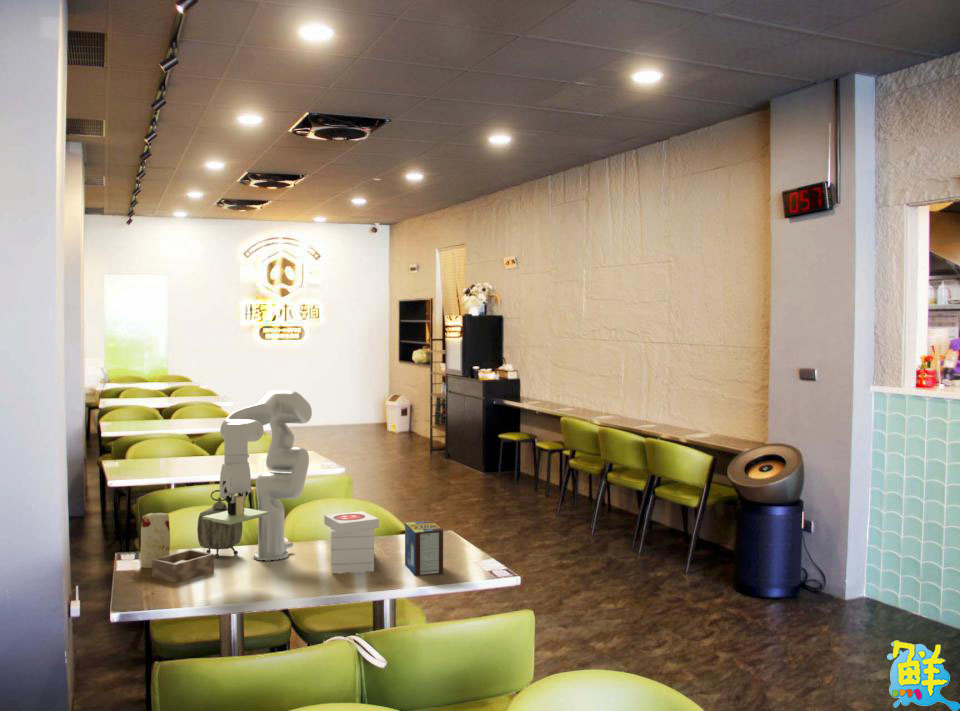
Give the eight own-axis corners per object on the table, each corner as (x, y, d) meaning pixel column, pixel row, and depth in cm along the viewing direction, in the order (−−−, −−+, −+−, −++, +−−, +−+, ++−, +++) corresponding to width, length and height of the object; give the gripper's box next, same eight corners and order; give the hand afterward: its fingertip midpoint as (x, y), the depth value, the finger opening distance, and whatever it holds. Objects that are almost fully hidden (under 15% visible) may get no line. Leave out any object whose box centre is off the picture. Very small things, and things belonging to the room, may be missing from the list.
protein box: (432, 562, 303) (432, 520, 303) (443, 573, 289) (443, 529, 289) (404, 564, 300) (404, 522, 300) (414, 576, 286) (414, 531, 285)
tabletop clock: (242, 554, 312) (242, 488, 312) (232, 560, 303) (232, 492, 303) (205, 552, 314) (205, 487, 313) (195, 559, 305) (195, 491, 304)
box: (190, 568, 292) (190, 549, 292) (213, 574, 286) (213, 554, 286) (151, 580, 278) (151, 559, 278) (175, 586, 272) (175, 564, 272)
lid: (241, 512, 289) (241, 490, 289) (268, 517, 282) (268, 494, 282) (202, 521, 274) (202, 498, 274) (229, 526, 268) (229, 502, 267)
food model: (139, 572, 288) (139, 515, 287) (141, 566, 294) (141, 511, 293) (169, 570, 290) (169, 513, 290) (171, 565, 297) (171, 509, 296)
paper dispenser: (374, 551, 318) (374, 504, 318) (379, 573, 289) (380, 522, 288) (323, 553, 315) (324, 506, 314) (324, 575, 285) (324, 523, 285)
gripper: (246, 455, 287) (246, 507, 287) (208, 461, 273) (209, 516, 273) (262, 457, 283) (262, 510, 283) (224, 463, 269) (224, 519, 269)
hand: (236, 512), depth 278 cm, fingers closed on lid, 3 cm apart
